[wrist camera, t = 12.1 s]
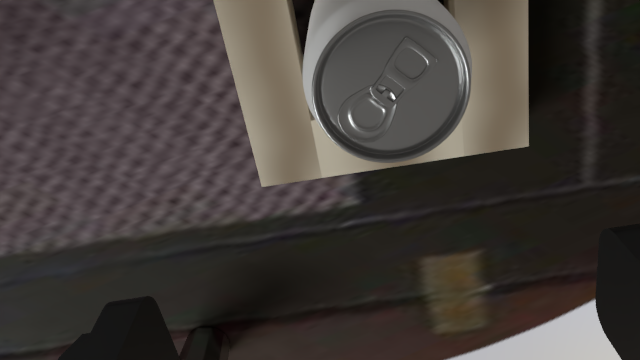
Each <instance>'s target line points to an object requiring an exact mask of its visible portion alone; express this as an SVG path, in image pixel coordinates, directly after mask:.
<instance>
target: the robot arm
mask: <svg viewBox="0 0 640 360" xmlns="http://www.w3.org/2000/svg"><path fill="white" fill-rule="evenodd" d="M596 308H597V313H598V317H599V321H600V323H601V325H602V328H603V331H604V333H605V334H606V336H607V338H608V339H609V341H610V342H611V344H612V345H613V347H614V348H615V350H616V351H617V353H618V355H619V356H620V357H621V359H622V360H640V224H635V225H628V226H621V227H615V228H608V229H604V230H603V231H602V232H601V234H600V238H599V251H598V267H597V283H596ZM58 360H180V359H179V355H178V353H177V350H176V348H175V346H174V343H173V341H172V338H171V336H170V334H169V331H168V329H167V326H166V324H165V321H164V319H163V317H162V314H161V312H160V309H159V307H158V305H157V303H156V301H155V300H154V299H153V298H152V297H150V296H146V297H139V298H133V299H126V300H119V301H113V302H109V303H107V304H106V305H105V307H104V308H103V310H102V312H101V314H100V316H99V318H98V320H97V321H96V323H95V325H94V327H93V329H92V331H91V333H87V334H82V335H81V336H80V337H79V338H78V339H77V340H76V341H75V342H74V343H73V344H72V345H71V346H70V347H69V348H68V349H67V350H66V351H65V352H64V353H63V354H62V355H61V356H60V357H59V359H58Z"/></svg>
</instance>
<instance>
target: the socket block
mask: <svg viewBox="0 0 640 360" xmlns="http://www.w3.org/2000/svg"><path fill="white" fill-rule="evenodd" d="M214 4H215V8H216V12H217V15H218V19H219V23H220V27H221V31H222V35H223V39H224V42H225V46H226V50H227V54H228V58H229V62H230V66H231V69H232V73H233V77H234V81H235V85H236V89H237V92H238V96H239V100H240V104H241V108H242V112H243V116H244V119H245V123H246V127H247V131H248V135H249V139H250V143H251V146H252V150H253V154H254V158H255V162H256V166H257V170H258V173H259V177H260V181H261V185H262V187H265V186H272V185H278V184H285V183H291V182H298V181H304V180H311V179H317V178H324V177H331V176H337V175H344V174H350V173H357V172H363V171H370V170H376V169H383V168H389V167H396V166H403V165H409V164H416V163H422V162H429V161H435V160H442V159H448V158H455V157H462V156H468V155H475V154H481V153H488V152H494V151H501V150H507V149H514V148H521V147H527V146H529V93H528V0H444V7H445V8H446V9H447V10H448V11H449V13H450V14H451V15H452V16H453V17H454V19H455V20H456V21H457V23H458V24H459V26H460V27H461V29H462V31H463V33H464V35H465V37H466V40H467V42H468V45H469V49H470V53H471V59H472V78H471V91H470V97H469V101H468V105H467V108H466V110H465V113H464V115H463V117H462V119H461V121H460V122H459V124H458V125H457V127H456V128H455V130H454V131H453V132H452V133H451V134H450V136H449V137H448V138H447V139H446V140H444V141H443V142H442V143H441V144H440V145H438V146H437V147H436V148H434V149H433V150H431V151H429V152H428V153H426V154H424V155H421V156H419V157H417V158H414V159H411V160H407V161H402V162H395V163H379V162H372V161H367V160H364V159H361V158H358V157H356V156H353V155H351V154H349V153H348V152H346V151H344V150H343V149H341V148H340V147H339V146H338V145H336V144H335V143H334V142H333V141H332V140H331V139H330V138H329V137H328V135H327V134H326V133H325V131H324V130H323V129H322V128H321V127H320V125H319V124H318V123H317V121H316V120H315V118H314V117H313V115H312V113H311V111H310V109H309V106H308V104H307V101H306V97H305V93H304V88H303V78H302V72H303V59H304V58H303V53H302V47H301V42H300V37H299V32H298V27H297V22H296V17H295V12H294V7H293V1H292V0H214Z"/></svg>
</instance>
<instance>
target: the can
mask: <svg viewBox="0 0 640 360" xmlns="http://www.w3.org/2000/svg"><path fill="white" fill-rule="evenodd" d="M302 78H303V88H304V93H305V97H306V101H307V104H308V106H309V109H310V111H311V113H312V115H313V117H314V118H315V120H316V121H317V123H318V124H319V125H320V127H321V128H322V129H323V130H324V131H325V133H326V134H327V135H328V137H329V138H330V139H331V140H332V141H333V142H334V143H335V144H336V145H338V146H339V147H340V148H341V149H343V150H344V151H346V152H348V153H349V154H351V155H353V156H356V157H358V158H361V159H364V160H367V161H372V162H379V163H395V162H402V161H407V160H411V159H414V158H417V157H419V156H421V155H424V154H426V153H428V152H429V151H431V150H433V149H434V148H436V147H437V146H438V145H440V144H441V143H442V142H443V141H444V140H446V139H447V138H448V137H449V136H450V134H451V133H452V132H453V131H454V130H455V128H456V127H457V125H458V124H459V122H460V121H461V119H462V117H463V115H464V113H465V110H466V108H467V105H468V101H469V97H470V91H471V78H472V59H471V53H470V49H469V45H468V42H467V40H466V37H465V35H464V33H463V31H462V29H461V27H460V26H459V24H458V23H457V21H456V20H455V19H454V17H453V16H452V15H451V14H450V13H449V11H448V10H447V9H446V8H445V7H444V6H443V5H442V4H441V3H440V2H439V1H438V0H315V1H314V4H313V7H312V11H311V15H310V21H309V27H308V33H307V39H306V45H305V52H304V59H303V72H302Z"/></svg>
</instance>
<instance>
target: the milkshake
mask: <svg viewBox="0 0 640 360" xmlns="http://www.w3.org/2000/svg"><path fill="white" fill-rule="evenodd" d="M229 349H230V341H229V340H228V338H227V337H226V335H225V333H224V332H222V331H220V330H217V329H215V328H213V327H200V328H197V329H196V330H194V331H193V332H191V333H190V334H189V335H188V337H187V339H186V341H185V344H184V346H183V348H182V351H181V353H180V356H179V359H180V360H228V357H229Z"/></svg>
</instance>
